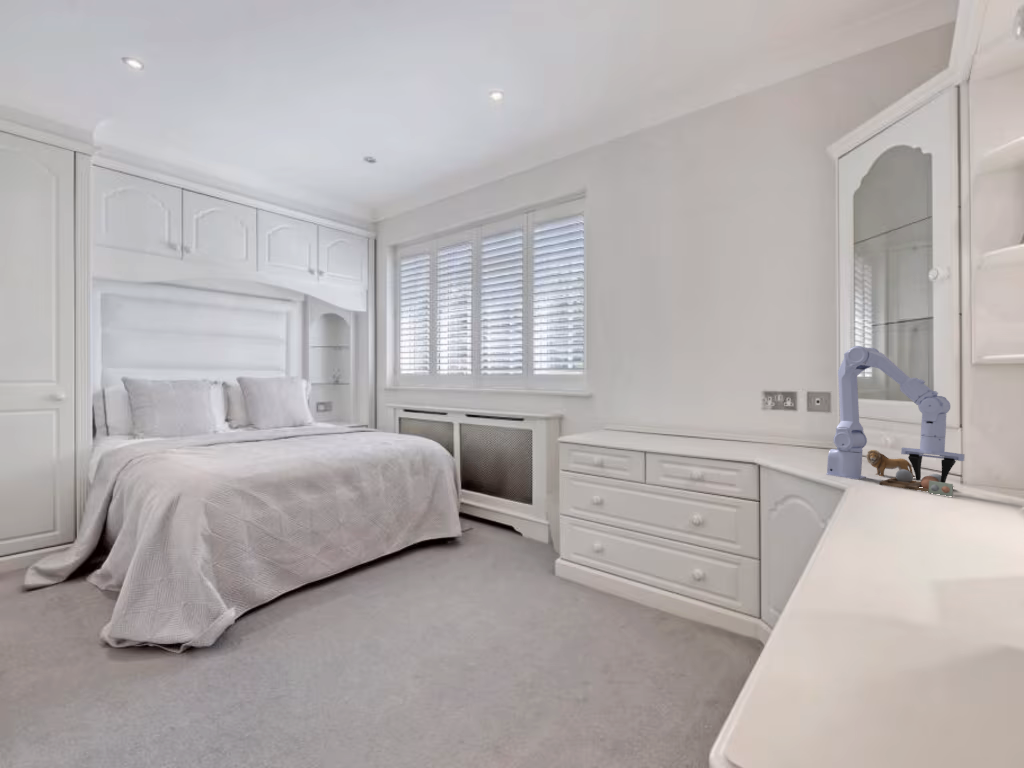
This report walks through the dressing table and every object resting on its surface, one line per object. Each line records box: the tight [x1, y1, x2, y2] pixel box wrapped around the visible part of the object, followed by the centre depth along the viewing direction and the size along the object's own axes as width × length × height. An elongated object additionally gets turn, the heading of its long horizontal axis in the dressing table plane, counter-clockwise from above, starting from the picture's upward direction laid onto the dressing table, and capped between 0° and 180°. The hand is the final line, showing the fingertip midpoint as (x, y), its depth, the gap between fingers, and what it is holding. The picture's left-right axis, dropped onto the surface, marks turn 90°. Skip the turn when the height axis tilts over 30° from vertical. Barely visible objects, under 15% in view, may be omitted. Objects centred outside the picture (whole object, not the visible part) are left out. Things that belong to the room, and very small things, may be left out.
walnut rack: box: [879, 477, 929, 493], centre depth 158 cm, size 15×15×1 cm
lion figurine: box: [866, 449, 916, 477], centre depth 177 cm, size 15×5×9 cm, turn 73°
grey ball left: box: [895, 469, 914, 483], centre depth 164 cm, size 4×4×4 cm
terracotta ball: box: [920, 475, 939, 489], centre depth 153 cm, size 4×4×4 cm
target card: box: [928, 481, 954, 497], centre depth 146 cm, size 5×1×4 cm, turn 39°
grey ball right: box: [928, 473, 941, 482], centre depth 157 cm, size 4×4×4 cm
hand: (930, 481), depth 153 cm, fingers open, 5 cm apart
